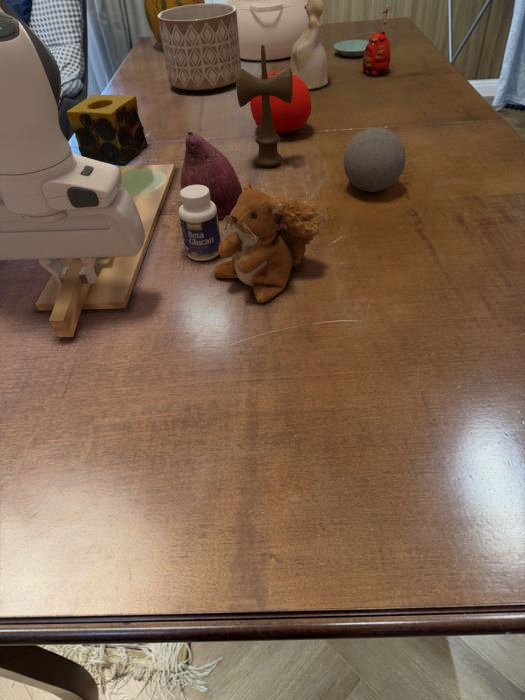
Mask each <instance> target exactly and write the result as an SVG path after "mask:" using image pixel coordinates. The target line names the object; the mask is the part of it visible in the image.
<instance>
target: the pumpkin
mask: <svg viewBox="0 0 525 700" xmlns="http://www.w3.org/2000/svg"><path fill="white" fill-rule="evenodd" d="M204 3H206V2H205V0H143V8H144V14H145V18H146V21H147V24H148V26H149V29H150V31H151V33H152V35H153V37H154V39H155V40H156V42H157V43H158V44H160V45H161V46H162V47H163V45H162V39H161V33H160V28H159V22H158V14H159V13H160V12H162V11H164V10H167V9H171V8H175V7H179V6H185V5H192V4H204Z"/></svg>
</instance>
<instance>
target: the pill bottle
mask: <svg viewBox="0 0 525 700" xmlns="http://www.w3.org/2000/svg"><path fill="white" fill-rule="evenodd" d="M179 194H180V195H179V196H180V201H181V205H180V206H179V208H178V217H179V222H180V228H181V233H182V234H181V235H182V238H183V239H182V240H183V244H184V249H185V253H186V256H187V257H188V258H189V259H192V260H194V261H197V262H198V261H199V262H204V261H209V260H213V259H215V258H217V257H218V256H220V253H219V250H218V248H219V244H220V242H221V241H222V239H221V232H220V224H219V220H218V216H217V208H216V205H215V204H214V203H213V202H212V201H210V193H209V189H208V188H207V187H206V186H203V185H190V186H187V187H185V188H183V189H182V190H180V192H179Z"/></svg>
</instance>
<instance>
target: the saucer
mask: <svg viewBox="0 0 525 700" xmlns="http://www.w3.org/2000/svg"><path fill="white" fill-rule="evenodd" d="M368 43H369V40H365V39H348V40H342V41H338V42H336V43H334V44H333V49H334V50H335V51H336V52H337V53H338V54H340V55H341V56H343V57H348V58H357V57H362V56H364V52H365V48H366V45H367V44H368Z"/></svg>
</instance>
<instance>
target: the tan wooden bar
mask: <svg viewBox="0 0 525 700" xmlns="http://www.w3.org/2000/svg"><path fill="white" fill-rule="evenodd" d="M109 258H110V257H97V258H96V261H95V264H94V267H93V268H94V271H95V269H97V267H98V264H99V261H100V259H109ZM84 266H87V263H86V264H83V263H82V261H81V258H72V260H71V263H70V265H69V268H68V271H67V274H66V276H65V279H64V282H63V284H62V287H61V290H60V292H59V295H58V298H57V300H56V303H55V306H54V308H53V310H51V314H50V317H49V319H48V322H49V323H50V325H51V327H52V328H53V330H54V332H55V333H56V335H57V336H58V338H73V337H74V335H75V332H76V328H77V326H78V321H79V319H80V316H81V314H82V310H83V309H82V307H83V304H84V301H85V298H86V295H87V292H88V289H89V286H90V284H82V283H81V279H80V277H79V275H78V274H79V272H80V271H81V268H82V267H84Z"/></svg>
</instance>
